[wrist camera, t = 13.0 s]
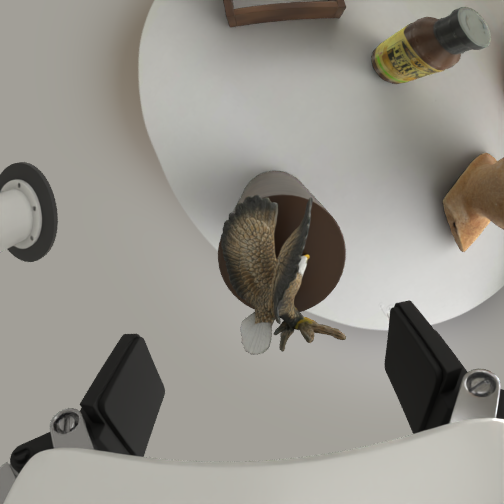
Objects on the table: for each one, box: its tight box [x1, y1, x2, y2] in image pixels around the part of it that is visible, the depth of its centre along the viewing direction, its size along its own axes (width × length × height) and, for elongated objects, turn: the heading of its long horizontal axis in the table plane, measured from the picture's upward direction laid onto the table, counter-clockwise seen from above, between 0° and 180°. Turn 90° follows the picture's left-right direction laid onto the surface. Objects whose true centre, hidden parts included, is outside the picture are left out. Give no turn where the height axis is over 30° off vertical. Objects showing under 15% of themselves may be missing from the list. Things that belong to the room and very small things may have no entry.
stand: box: [218, 171, 346, 312], centre depth 30 cm, size 9×9×20 cm
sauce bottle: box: [372, 7, 491, 84], centre depth 23 cm, size 6×6×20 cm
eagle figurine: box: [221, 194, 346, 355], centre depth 18 cm, size 8×7×9 cm
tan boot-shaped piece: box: [443, 153, 504, 252], centre depth 30 cm, size 15×12×15 cm
